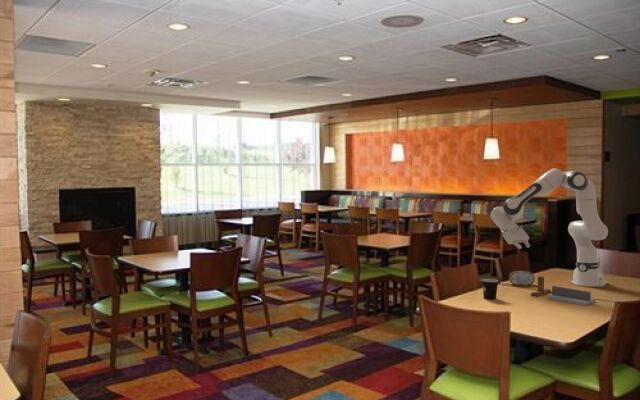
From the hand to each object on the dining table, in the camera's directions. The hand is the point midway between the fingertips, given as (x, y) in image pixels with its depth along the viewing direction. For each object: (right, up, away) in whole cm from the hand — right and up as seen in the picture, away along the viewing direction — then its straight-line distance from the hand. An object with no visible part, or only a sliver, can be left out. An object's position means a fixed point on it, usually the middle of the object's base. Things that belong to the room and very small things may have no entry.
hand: (524, 247), depth 316 cm
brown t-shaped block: (+4, -26, -13) cm, 29 cm away
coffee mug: (-28, -26, -21) cm, 44 cm away
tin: (+3, -24, +12) cm, 27 cm away
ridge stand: (+14, -26, -28) cm, 41 cm away
